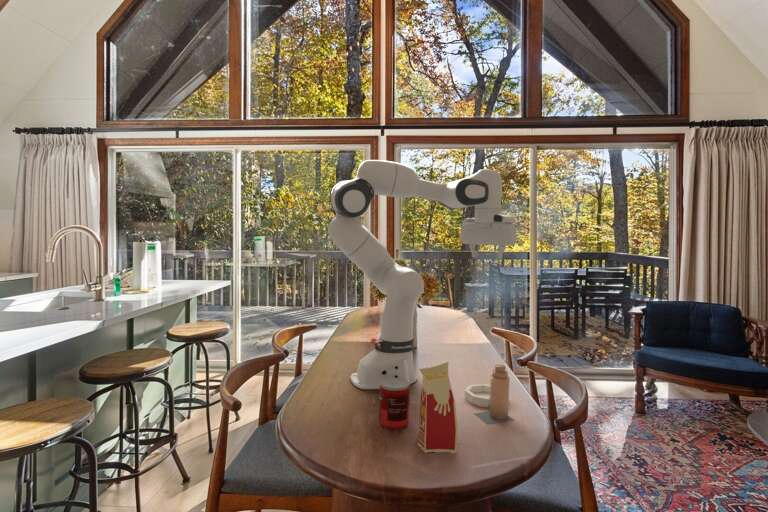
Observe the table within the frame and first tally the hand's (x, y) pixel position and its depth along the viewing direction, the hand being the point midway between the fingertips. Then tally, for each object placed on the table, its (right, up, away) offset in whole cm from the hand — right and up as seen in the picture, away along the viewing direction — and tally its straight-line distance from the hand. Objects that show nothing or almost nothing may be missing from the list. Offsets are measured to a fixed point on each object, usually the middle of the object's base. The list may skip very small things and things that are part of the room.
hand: (486, 258), depth 148 cm
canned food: (-33, -44, -34) cm, 64 cm away
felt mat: (-5, -44, -30) cm, 53 cm away
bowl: (-4, -43, -18) cm, 47 cm away
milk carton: (-23, -45, -45) cm, 67 cm away
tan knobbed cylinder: (-4, -43, -29) cm, 53 cm away
